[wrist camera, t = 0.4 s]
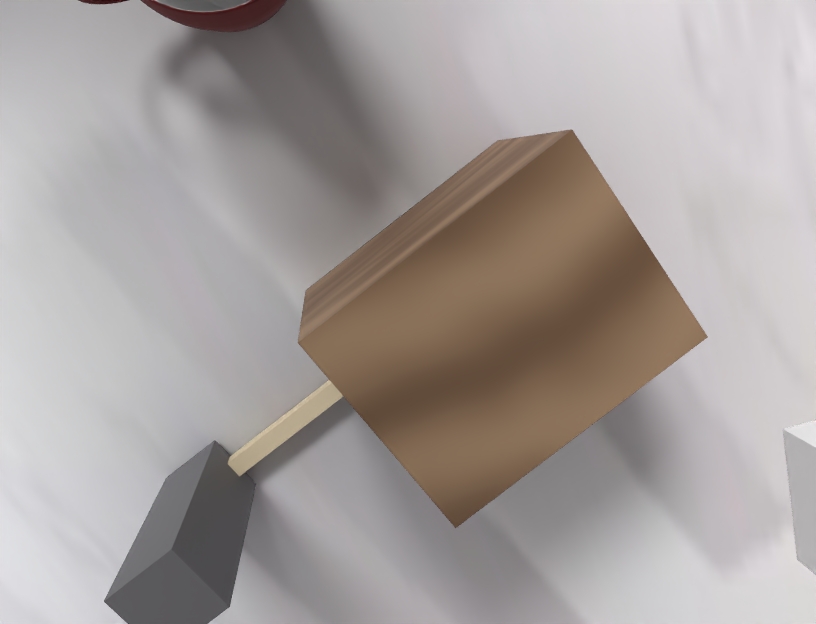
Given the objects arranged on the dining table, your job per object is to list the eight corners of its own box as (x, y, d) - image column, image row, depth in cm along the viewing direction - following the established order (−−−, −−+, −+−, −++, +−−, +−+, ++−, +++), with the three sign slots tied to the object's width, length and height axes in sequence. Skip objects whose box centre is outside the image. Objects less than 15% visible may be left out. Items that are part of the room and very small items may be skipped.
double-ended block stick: (151, 462, 37) (81, 580, 27) (446, 232, 37) (496, 259, 26) (222, 535, 39) (184, 676, 28) (508, 316, 38) (579, 374, 27)
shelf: (305, 290, 37) (298, 342, 26) (497, 140, 36) (572, 129, 25) (419, 427, 39) (455, 527, 28) (600, 289, 39) (707, 337, 28)
